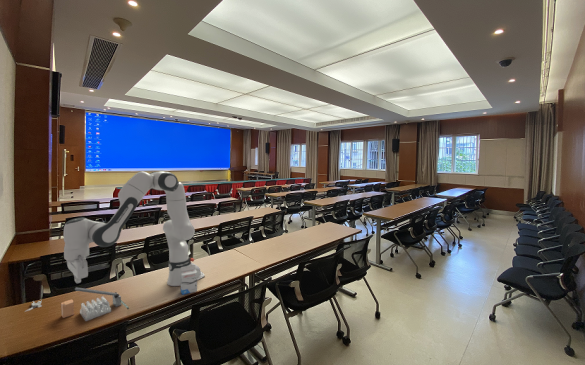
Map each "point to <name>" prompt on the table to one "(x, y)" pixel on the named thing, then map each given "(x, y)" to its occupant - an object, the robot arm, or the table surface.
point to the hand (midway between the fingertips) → (77, 282)
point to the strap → (97, 291)
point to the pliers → (35, 305)
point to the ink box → (188, 279)
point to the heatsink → (98, 307)
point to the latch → (67, 308)
